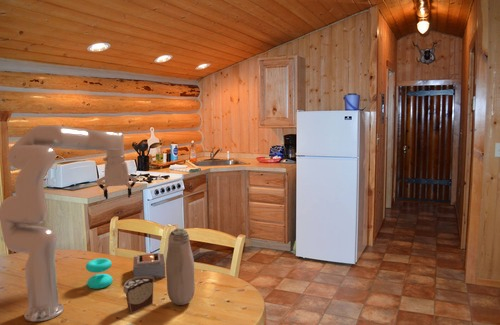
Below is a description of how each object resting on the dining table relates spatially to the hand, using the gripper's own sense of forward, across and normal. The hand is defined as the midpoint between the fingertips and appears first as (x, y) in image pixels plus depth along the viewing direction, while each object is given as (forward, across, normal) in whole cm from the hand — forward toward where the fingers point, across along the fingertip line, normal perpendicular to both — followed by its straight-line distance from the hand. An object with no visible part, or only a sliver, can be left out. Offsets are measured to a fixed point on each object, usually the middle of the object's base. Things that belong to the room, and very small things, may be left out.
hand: (118, 197), depth 186 cm
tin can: (+32, +12, -12) cm, 36 cm away
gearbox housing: (+32, +12, -12) cm, 36 cm away
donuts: (+33, -8, -18) cm, 38 cm away
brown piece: (+32, +7, -42) cm, 54 cm away
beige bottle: (+32, +23, -44) cm, 59 cm away
